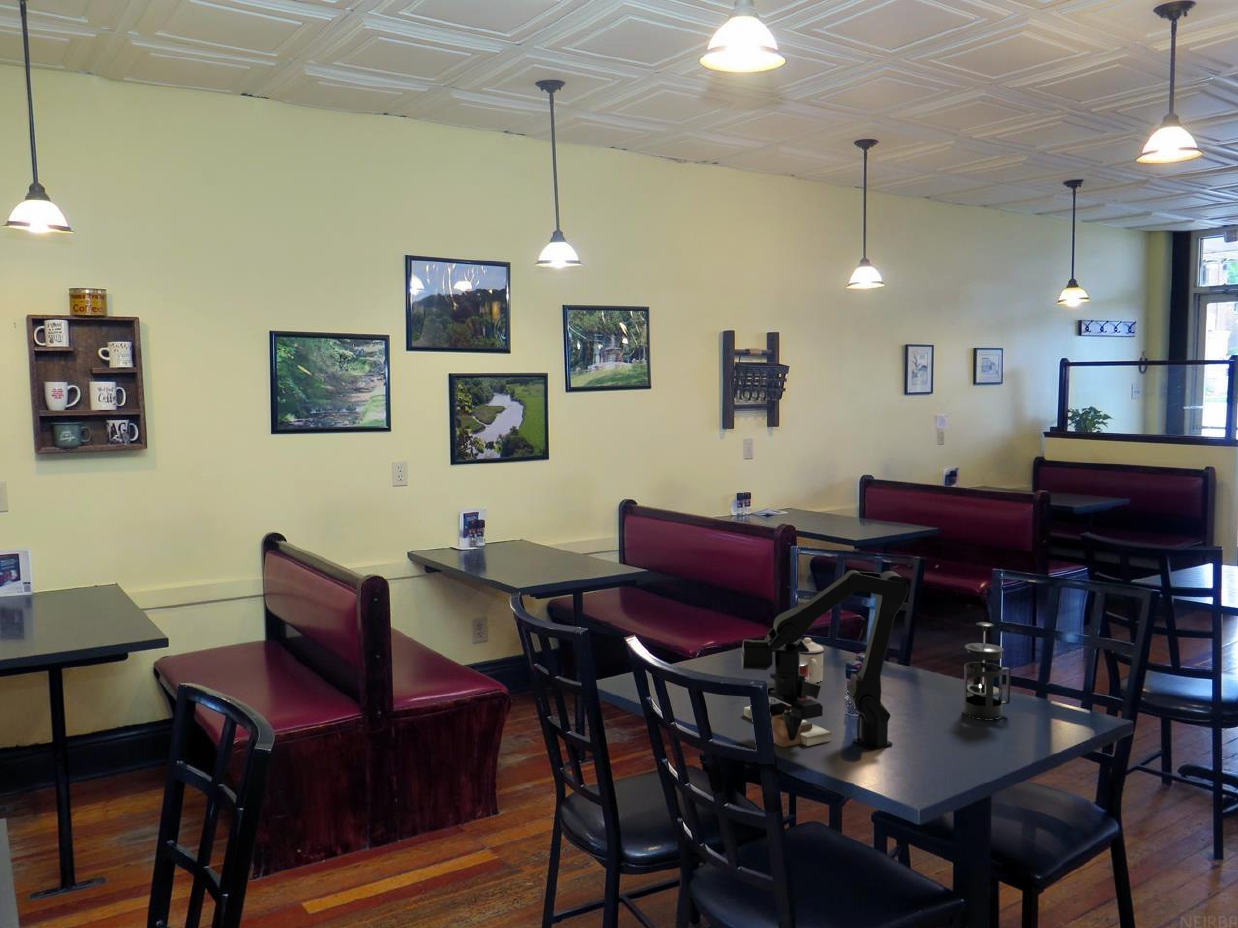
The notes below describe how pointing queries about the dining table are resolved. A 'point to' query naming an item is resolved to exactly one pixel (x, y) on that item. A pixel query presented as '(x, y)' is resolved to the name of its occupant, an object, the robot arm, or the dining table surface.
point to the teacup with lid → (813, 660)
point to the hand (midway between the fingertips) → (786, 737)
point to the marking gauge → (782, 733)
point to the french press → (983, 694)
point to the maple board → (806, 732)
